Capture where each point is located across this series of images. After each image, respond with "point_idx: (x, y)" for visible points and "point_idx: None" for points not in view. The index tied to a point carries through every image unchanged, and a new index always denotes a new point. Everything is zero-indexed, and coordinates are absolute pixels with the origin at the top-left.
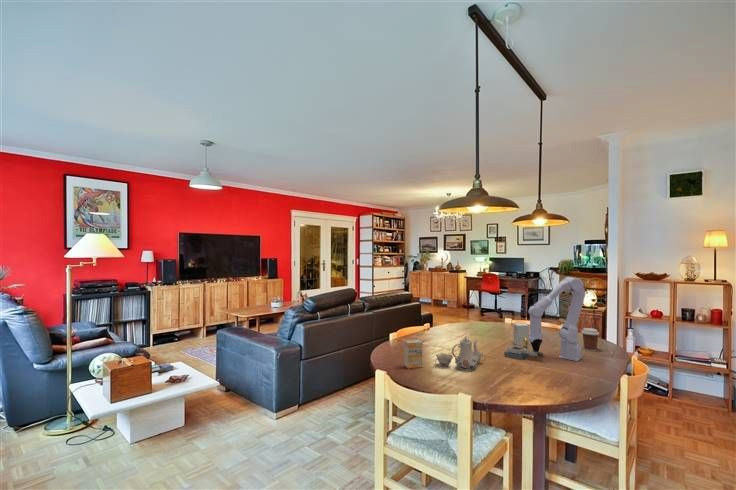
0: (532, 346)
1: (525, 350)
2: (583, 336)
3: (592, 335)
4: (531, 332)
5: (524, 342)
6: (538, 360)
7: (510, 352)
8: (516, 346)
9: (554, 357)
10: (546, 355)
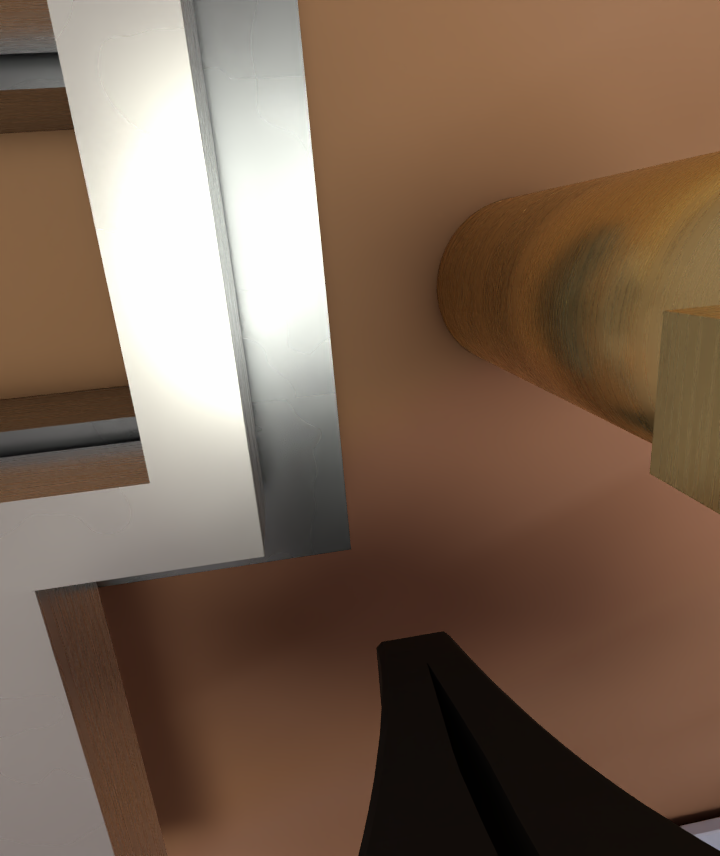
0: (374, 806)
1: None
2: None
3: None
4: None
5: (650, 353)
6: (186, 752)
7: None
8: (157, 75)
9: (622, 787)
10: (662, 654)
